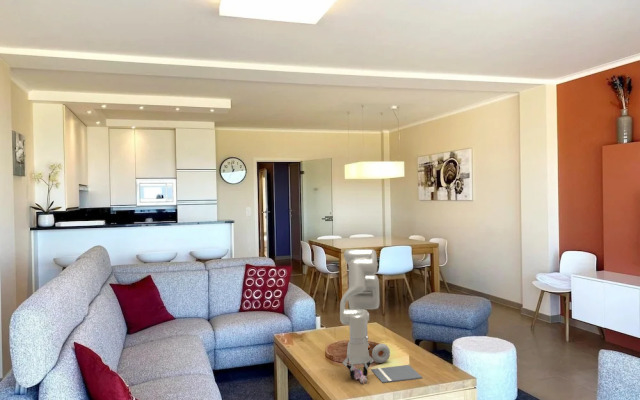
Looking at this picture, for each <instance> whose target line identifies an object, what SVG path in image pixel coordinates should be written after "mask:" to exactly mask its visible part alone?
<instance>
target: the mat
mask: <svg viewBox="0 0 640 400" xmlns="http://www.w3.org/2000/svg"><path fill="white" fill-rule="evenodd" d="M371 372H372V373H373V374H374V375H375V376H376V378H377V379H378V380H379V381H380V382H381V384H387V383H395V382H403V381H404V382H405V381H409V380H410V381H411V380H419V379H420V378H421V379H423V376H421V374H420V373H418V372H417V371H416V370H415V369H414V368H413V367H412V366H411V365H410V364H405V365H396V366H388V367H378V368H371Z"/></svg>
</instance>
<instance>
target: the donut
mask: <svg viewBox="0 0 640 400" xmlns="http://www.w3.org/2000/svg"><path fill="white" fill-rule="evenodd" d="M381 351H382V352H383V353H382V355H379V353H380V352H381ZM390 354H391V350H390V348H389V346H388V345H387V344H385V343H379V344H376V345H375V346H374V347H373V349H372V351H371V358H372V359H373V360H374V361H373V362H375V363H378V364H383V363H385V362H386V361H388V359H389V358H390V356H391V355H390Z"/></svg>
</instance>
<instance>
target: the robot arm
mask: <svg viewBox="0 0 640 400" xmlns="http://www.w3.org/2000/svg"><path fill="white" fill-rule="evenodd" d="M343 258H344V260H345V262H346V264H347V265H348V289H347V290H346V291H345V293H344V294H343V295H342V297H341V300H340V302H339V319H340V322H341V324H342V325H346V326H349V341H348V343H347V350H346V358H345V359H344V360H343V362H342V364H343V365H344V366H345V367H346V368H347V369H348V370H349V377H350V378H351V379H352V380H354V379H355V378H354V371H353V367H355V366H356V365H363V367H362V374H363V376H367V377H368V369H369V367H370V366H372V363H373V362H375V361H374V359H373V358H372V356H371V355H370V352H369V350H368V346H369V344H370V343H369V341H368V340H369V336H368V334H369V333H368V322H369V321H370V313H369V311H368V310H377V309H379V307H380V282H379V280H380V279H379V278H378V275H376V273H377V271H378V256H377V251H376V250H375V249H373V248H364V249H363V248H354V249H353V248H350V249H346V250H345V251H344V252H343ZM347 303H348V308H346V307H347V306H346V304H347ZM348 362H349V363H348Z"/></svg>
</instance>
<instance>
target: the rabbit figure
mask: <svg viewBox="0 0 640 400" xmlns="http://www.w3.org/2000/svg"><path fill="white" fill-rule="evenodd" d="M353 371H354V379H355V380H359V382H360V384H362V385H365V384H366V383H367V384H370V381H369V379H368V375H367V376H364V375H363V370H362V369H361V368H358V367H356V366H354V367H353Z"/></svg>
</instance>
